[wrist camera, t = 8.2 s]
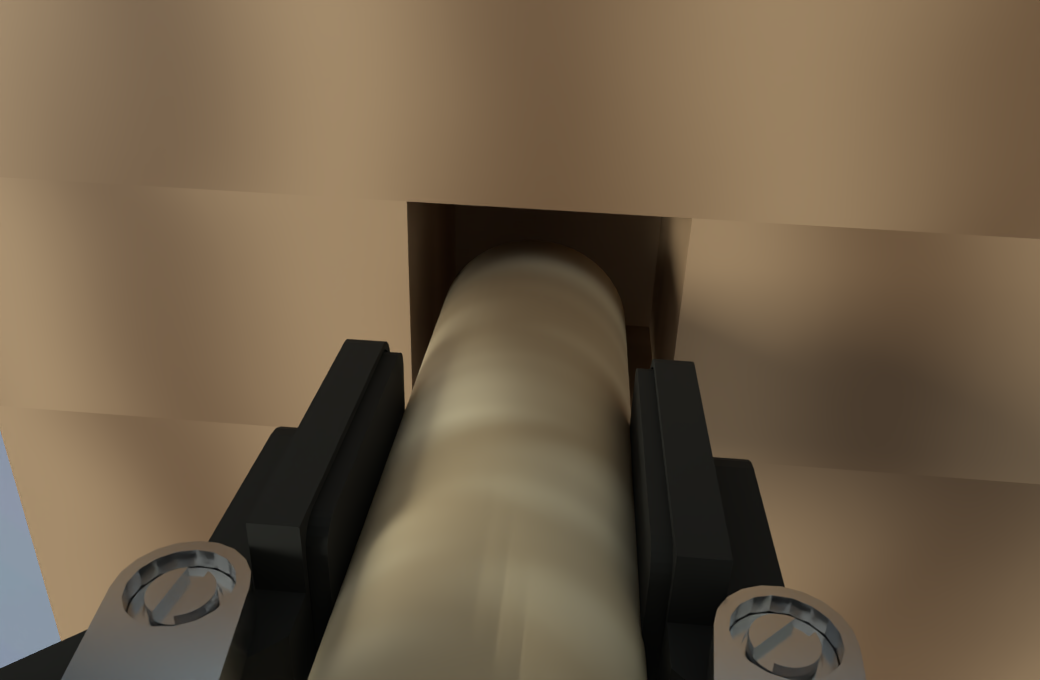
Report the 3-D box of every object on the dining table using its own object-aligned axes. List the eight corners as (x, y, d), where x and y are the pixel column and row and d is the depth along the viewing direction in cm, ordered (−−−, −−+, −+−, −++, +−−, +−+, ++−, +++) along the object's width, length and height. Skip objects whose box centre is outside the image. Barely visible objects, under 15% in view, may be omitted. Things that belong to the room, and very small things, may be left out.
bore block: (1194, -326, 15) (1523, -434, 9) (908, 585, 24) (993, 787, 19) (29, -352, 16) (-257, -462, 11) (188, 526, 25) (78, 699, 20)
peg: (632, 245, 15) (702, 956, 5) (617, 409, 16) (645, 1206, 7) (441, 234, 15) (149, 902, 5) (442, 398, 16) (217, 1155, 7)
